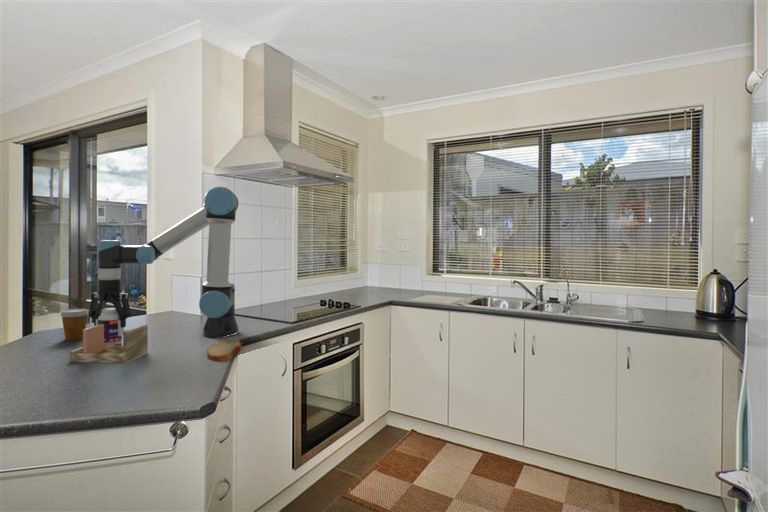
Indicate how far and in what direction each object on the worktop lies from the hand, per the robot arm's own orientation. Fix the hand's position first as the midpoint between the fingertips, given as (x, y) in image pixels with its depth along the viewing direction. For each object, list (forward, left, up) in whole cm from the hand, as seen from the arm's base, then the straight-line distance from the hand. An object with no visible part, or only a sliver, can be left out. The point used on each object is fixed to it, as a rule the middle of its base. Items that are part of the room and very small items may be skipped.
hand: (110, 335), depth 169 cm
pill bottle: (0, 0, -4) cm, 4 cm away
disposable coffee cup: (+20, -8, -4) cm, 22 cm away
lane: (-11, +17, -4) cm, 21 cm away
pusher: (-5, +17, -3) cm, 18 cm away
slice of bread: (-50, +8, -4) cm, 50 cm away
